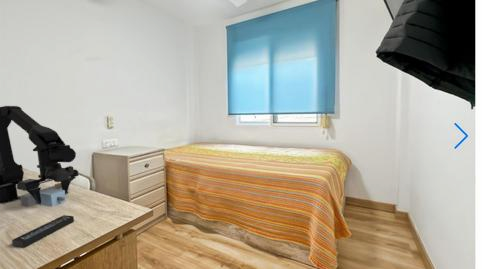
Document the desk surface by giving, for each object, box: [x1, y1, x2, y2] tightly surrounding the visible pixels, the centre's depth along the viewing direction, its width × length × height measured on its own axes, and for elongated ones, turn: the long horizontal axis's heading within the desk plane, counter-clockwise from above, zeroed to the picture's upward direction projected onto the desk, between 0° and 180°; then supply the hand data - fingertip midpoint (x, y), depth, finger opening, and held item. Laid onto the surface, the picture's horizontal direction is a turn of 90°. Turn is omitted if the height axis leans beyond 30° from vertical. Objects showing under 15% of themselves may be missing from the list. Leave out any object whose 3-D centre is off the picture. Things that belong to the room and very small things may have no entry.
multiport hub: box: [11, 214, 75, 249], centre depth 66 cm, size 4×14×2 cm, turn 169°
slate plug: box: [39, 189, 67, 208], centre depth 87 cm, size 12×5×5 cm, turn 73°
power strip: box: [20, 182, 69, 207], centre depth 92 cm, size 4×15×5 cm, turn 163°
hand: (53, 198), depth 87 cm, fingers open, 9 cm apart
